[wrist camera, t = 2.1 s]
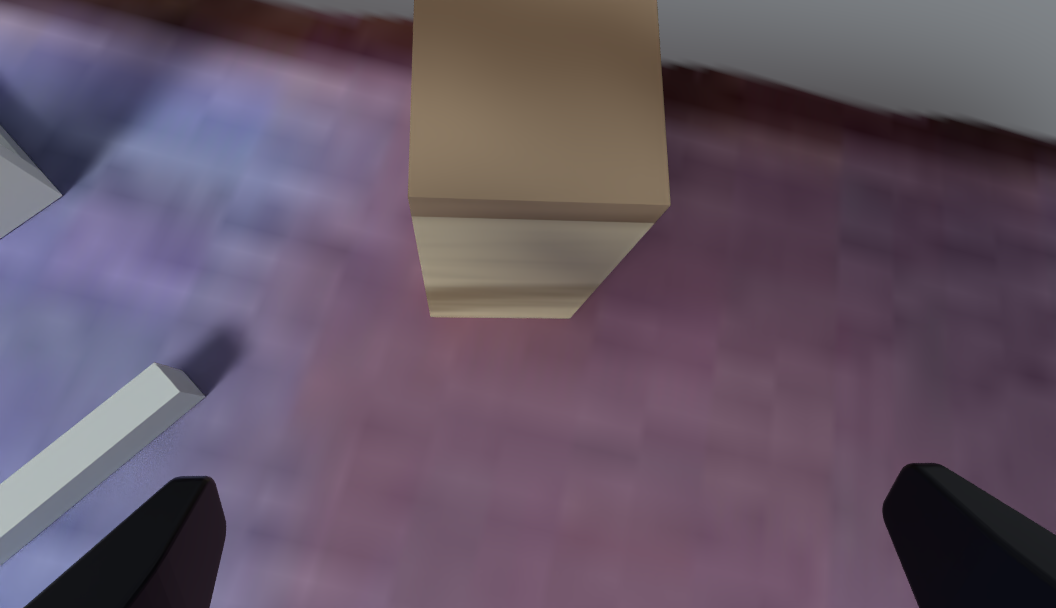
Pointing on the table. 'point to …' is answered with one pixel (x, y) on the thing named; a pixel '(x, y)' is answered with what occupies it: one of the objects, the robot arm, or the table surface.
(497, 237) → the beige upright block
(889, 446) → the table surface
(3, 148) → the board
